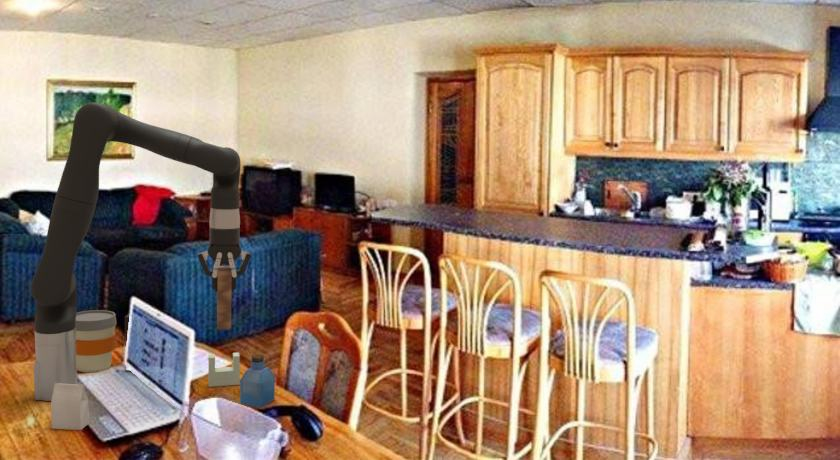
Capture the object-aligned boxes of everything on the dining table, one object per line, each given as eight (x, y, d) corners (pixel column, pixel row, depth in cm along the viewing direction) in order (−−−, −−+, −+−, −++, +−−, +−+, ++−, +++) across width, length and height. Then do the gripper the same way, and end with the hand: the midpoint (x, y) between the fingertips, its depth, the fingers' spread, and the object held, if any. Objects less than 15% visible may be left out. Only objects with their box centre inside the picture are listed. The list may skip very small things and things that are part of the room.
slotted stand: (208, 386, 193) (208, 358, 192) (208, 382, 197) (208, 354, 195) (239, 384, 196) (239, 356, 195) (238, 380, 199) (238, 352, 198)
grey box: (80, 430, 164) (79, 387, 162) (51, 428, 164) (50, 386, 163) (88, 423, 167) (87, 382, 166) (60, 422, 168) (58, 380, 166)
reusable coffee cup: (86, 358, 212) (84, 308, 210) (126, 361, 211) (125, 311, 209) (59, 372, 200) (57, 319, 198) (101, 375, 198) (100, 322, 196)
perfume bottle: (274, 399, 187) (274, 354, 185) (261, 407, 181) (261, 361, 179) (253, 395, 189) (253, 351, 187) (240, 403, 183) (240, 357, 181)
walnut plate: (217, 329, 185) (217, 272, 183) (217, 321, 192) (217, 266, 190) (231, 329, 186) (231, 271, 184) (230, 320, 193) (230, 265, 191)
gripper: (195, 227, 180) (195, 295, 182) (253, 227, 184) (252, 293, 186) (196, 223, 187) (196, 288, 189) (252, 223, 191) (251, 287, 193)
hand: (224, 290), depth 188 cm, fingers closed on walnut plate, 3 cm apart
